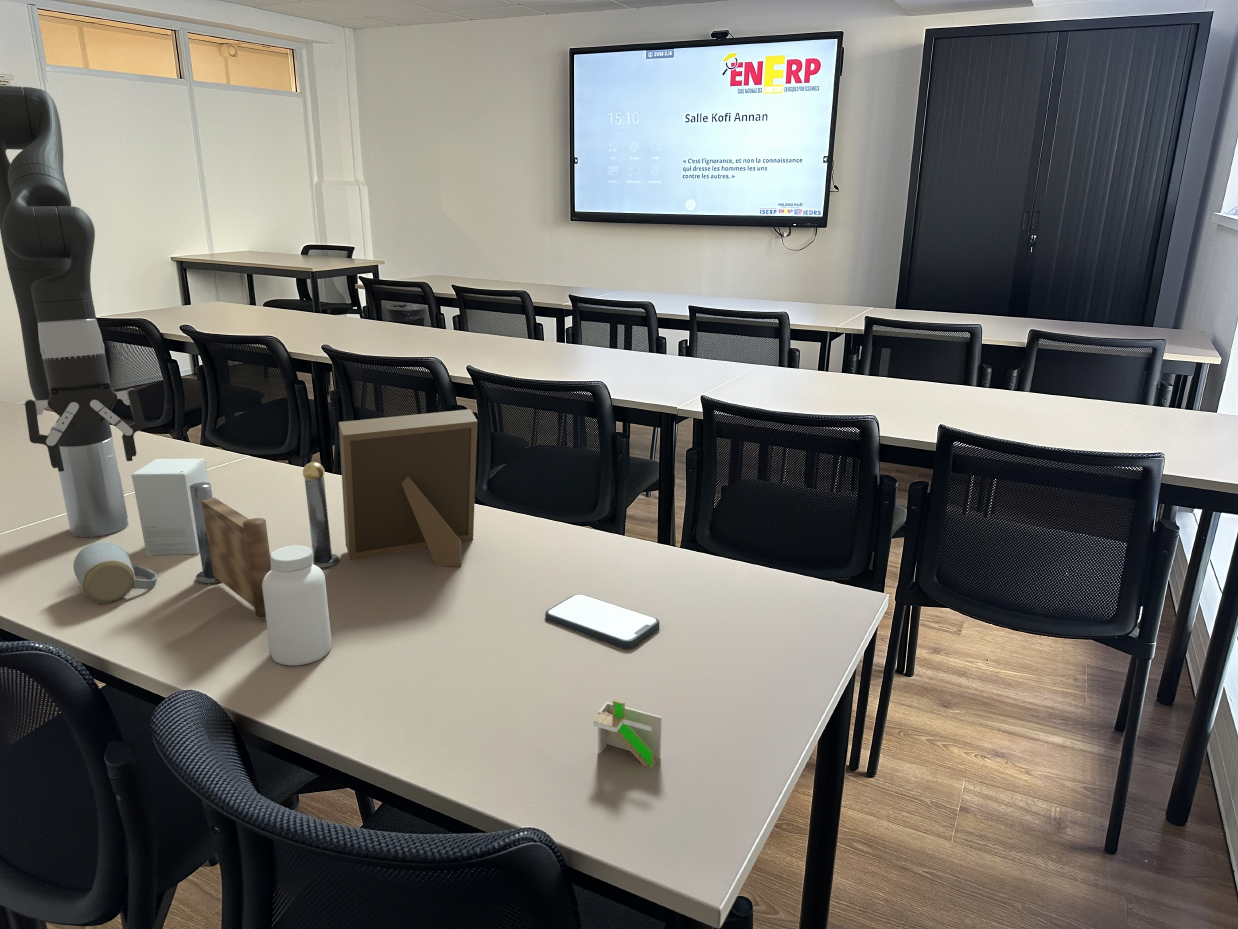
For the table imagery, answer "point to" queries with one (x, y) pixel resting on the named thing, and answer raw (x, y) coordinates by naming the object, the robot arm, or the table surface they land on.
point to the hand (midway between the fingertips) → (95, 465)
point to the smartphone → (603, 620)
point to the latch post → (318, 516)
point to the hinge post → (202, 531)
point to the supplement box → (168, 504)
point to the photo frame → (409, 484)
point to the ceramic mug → (109, 572)
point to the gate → (238, 551)
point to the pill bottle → (296, 607)
